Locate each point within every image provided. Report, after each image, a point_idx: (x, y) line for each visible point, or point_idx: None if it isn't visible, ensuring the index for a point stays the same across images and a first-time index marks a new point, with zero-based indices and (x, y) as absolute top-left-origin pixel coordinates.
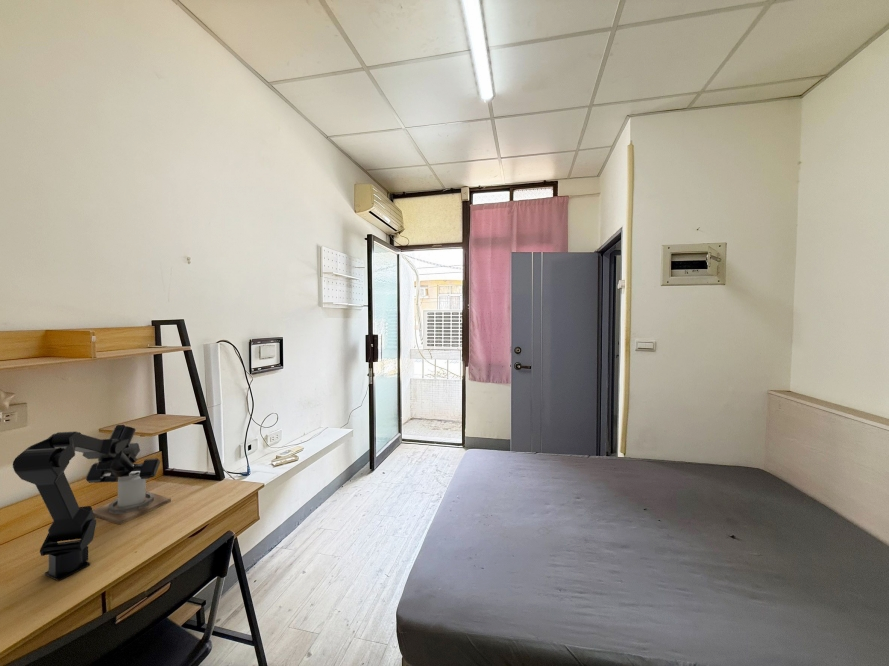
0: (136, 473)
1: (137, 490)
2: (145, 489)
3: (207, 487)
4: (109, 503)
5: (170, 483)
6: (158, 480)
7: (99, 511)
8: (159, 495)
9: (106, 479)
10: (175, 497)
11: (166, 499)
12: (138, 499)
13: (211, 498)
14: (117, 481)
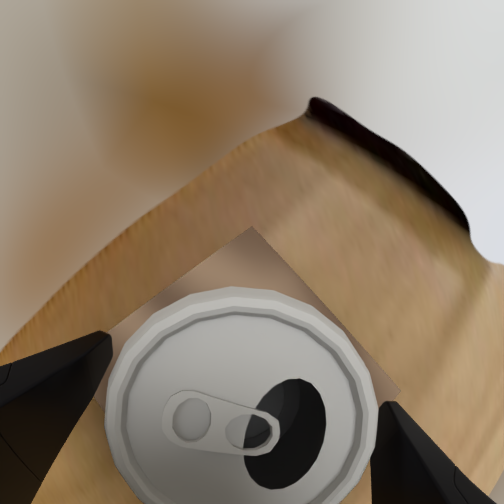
0: (260, 290)
1: (288, 471)
2: (318, 395)
3: (477, 300)
4: (131, 315)
5: (344, 188)
6: (289, 140)
7: (106, 388)
8: (348, 335)
9: (17, 497)
10: (402, 354)
11: (385, 398)
12: (281, 448)
13: (495, 404)
14: (110, 361)
